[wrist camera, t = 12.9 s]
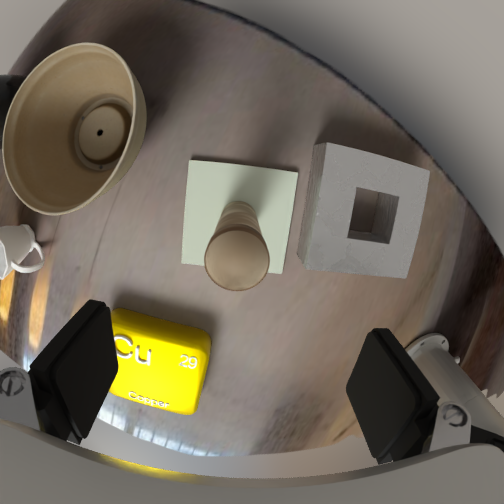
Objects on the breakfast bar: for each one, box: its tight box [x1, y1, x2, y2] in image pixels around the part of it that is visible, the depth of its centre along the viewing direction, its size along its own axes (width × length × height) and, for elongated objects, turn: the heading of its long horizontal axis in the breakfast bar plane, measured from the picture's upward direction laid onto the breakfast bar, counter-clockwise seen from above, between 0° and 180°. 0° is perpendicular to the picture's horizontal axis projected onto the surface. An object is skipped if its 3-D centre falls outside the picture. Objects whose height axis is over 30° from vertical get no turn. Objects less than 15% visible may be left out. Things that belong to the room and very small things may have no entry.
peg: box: [204, 201, 270, 291], centre depth 24 cm, size 4×4×14 cm
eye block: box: [297, 142, 430, 278], centre depth 30 cm, size 13×13×5 cm
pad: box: [182, 160, 298, 274], centre depth 31 cm, size 12×12×1 cm
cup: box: [0, 225, 45, 279], centre depth 27 cm, size 7×10×8 cm
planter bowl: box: [2, 43, 147, 215], centre depth 23 cm, size 16×16×11 cm
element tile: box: [109, 308, 211, 415], centre depth 36 cm, size 15×15×5 cm
